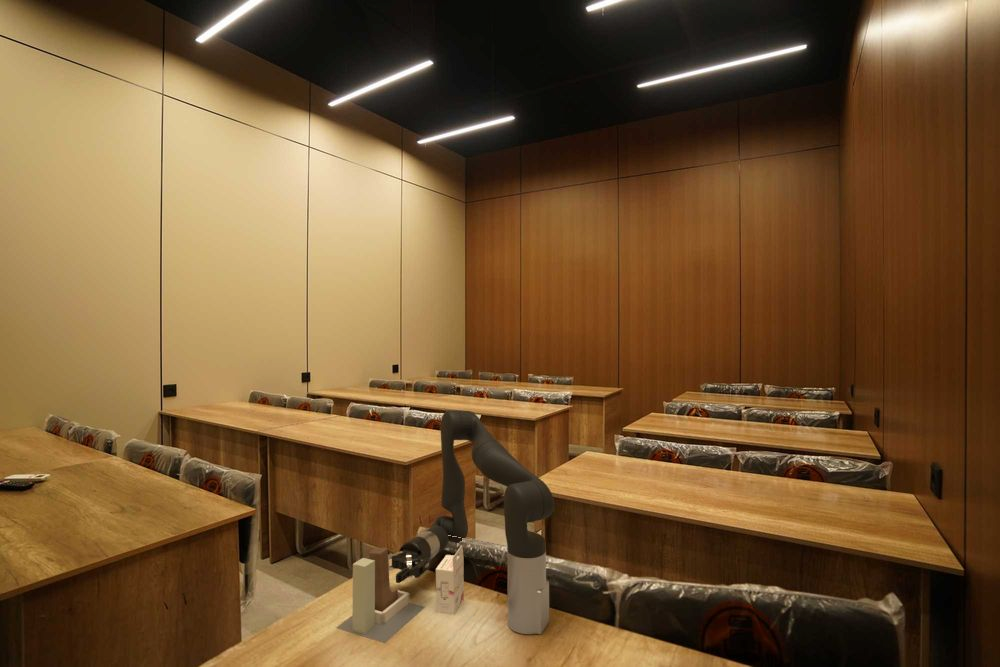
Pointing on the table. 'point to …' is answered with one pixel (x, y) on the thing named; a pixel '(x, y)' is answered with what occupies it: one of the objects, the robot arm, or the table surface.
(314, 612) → the table surface
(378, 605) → the wooden block
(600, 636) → the table surface
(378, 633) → the base plate
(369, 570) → the sage pillar
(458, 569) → the ink cartridge box
